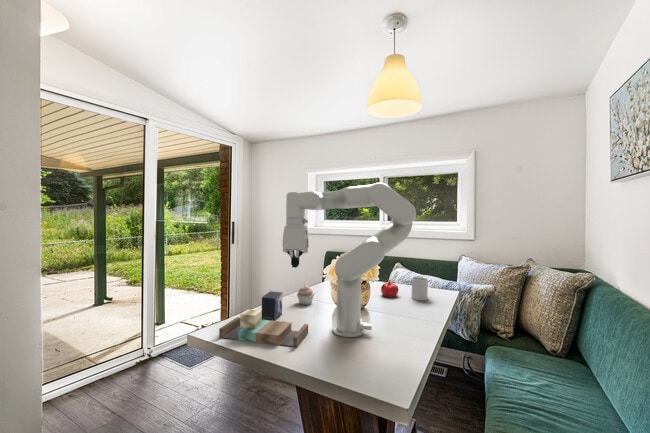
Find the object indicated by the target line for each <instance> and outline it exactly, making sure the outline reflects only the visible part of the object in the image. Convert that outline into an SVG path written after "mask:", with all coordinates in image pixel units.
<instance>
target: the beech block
mask: <svg viewBox="0 0 650 433" xmlns="http://www.w3.org/2000/svg"><path fill="white" fill-rule="evenodd" d="M239 316H240V327H243V328H253V329H255V328H256V327H258V326H259V325H260V324H261V323H262V309H261V310H260V309H258V310H257V309H249V308H248V309H246V310H245V311H243V312H242V313H240V315H239Z"/></svg>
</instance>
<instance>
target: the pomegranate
mask: <svg viewBox="0 0 650 433" xmlns="http://www.w3.org/2000/svg"><path fill="white" fill-rule="evenodd" d="M380 292H381V295H383V297H386V298H394V297H396V296H397V295H398V293H399V287H398V285H397V284H396V282H394V281H391V279H388V281H386V282H383V283H382V286H381V287H380Z"/></svg>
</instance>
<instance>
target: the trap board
mask: <svg viewBox="0 0 650 433" xmlns="http://www.w3.org/2000/svg"><path fill="white" fill-rule="evenodd" d="M308 334H309V324H306V323H304V324H303V326H301V328H300V329H299V330H292V322H288V321H280V320H279V321H278V320H275V321H270V320H262V323H261V324H260V325H259V326H258V327H256V328H255V329H253V328H243V327H240V317H239V316H236V317H235V318H234V319H232V320H231V321H229V322H228V323H225V324H224V325H223V326H221V327H219V329H218V338H219V339H225V340H233V341H242V342H248V343H249V342H250V343H257V344H265V345H275V346H283V347H290V348H298V347H300V345H301V343H302V342H303V341H304V339H305V338H306V337H307V335H308Z"/></svg>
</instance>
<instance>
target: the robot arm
mask: <svg viewBox="0 0 650 433" xmlns="http://www.w3.org/2000/svg"><path fill="white" fill-rule="evenodd" d="M285 202H286V203H285V204H286V205H285V208H286V211H285V212H286V215H285V216H286V218H285V220H286V221H285V222H286V223H285V225H284V227H283V228H284V229H283V234H282V252H283V253H285V254H287V255H288V256H289V258H290V265H291V268H295V269H297V268H298V267H299V266H300V257H301V256H302V255H303V254H307V253H309V247H310V246H309V245H310V244H309V232H308V226H307V225H306V224H308V223H309V219H306V218H305V214H306V213H305V210H308V211H320V210H321V211H322V210H324V211H325V210H334V209H335V210H336V209H344V210H345V209H356V208H368V207H377V208H378V209H379V210H380V211H381V212H382V213H384V214H385V215H387V216H388V217H389V218H391V221H390V222H389V224H387V225H386V226H385V227H384V228H382V229H381V230H379V231H378V232H377V233H375V234H373V235H372V236H370V237H368V238H366V239H364V240H362V242H361V244H359V245H358V246H356V247H355V248H353V249H351V250H350V251H347V252H344V253H342V254H341V255H340V256H339V257H338V258H337V260H336V261H335V264H334V272H335V275H336V277H337V279H336V324H335V325H333V327H332V332H333V333H334V334H335V335H337V336H338V337H343V338H356V337H360V336H363V335H364V334H365V330H366V331H372V328H373V326H372V324H370V323H369V322H363V318H361V317H362V316H361V314H362V312H361V310H362V309H361V307H362V306H361V304H362V303H361V302H362V296H361V294H362V275H364V274H365V273H367V272H369V271H371V270H372V269H373V268H376V266H378V265H379V264H380V263H381V262H382V261H383V260H384V258H385V256H386V254H389V253H390V251H392V250H394V249H395V248H396V247H398V246H399V245H401V243H403V242H405V240H406V239H407V238H408V237H409V235H410V233H411V230H412V228H413V224H414V223H413V221H414V220H415V219H416V216H417V210H416V207H415V206H414V205H413V203H411V202H410V201H409V200H407V199H406V198H405V197H403V196H402V195H400V193H398V192H396V191H395V190H394V189H393V188H391V187H390V186H389V185H388V184H386V183H383V182H375V183H372V184H365V185H357V186H355V185H354V186H347V187H343V188H340V189H338V190H332V191H323V192H319V191H314V190H310V191H304V192H303V191H289V192H287V193H286V201H285Z"/></svg>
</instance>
